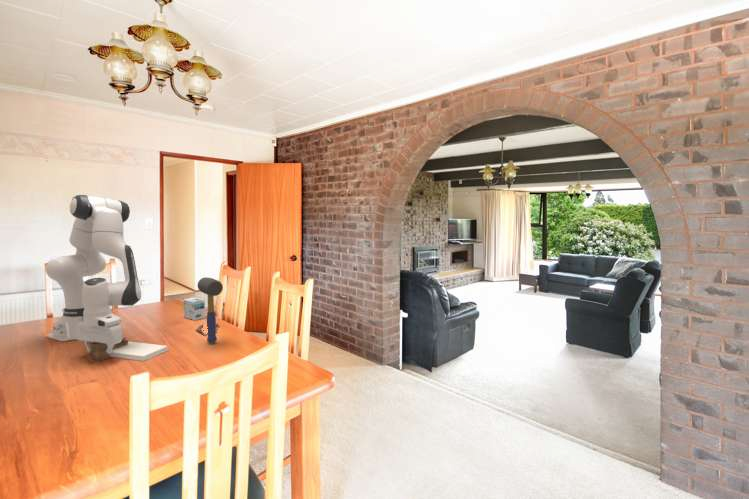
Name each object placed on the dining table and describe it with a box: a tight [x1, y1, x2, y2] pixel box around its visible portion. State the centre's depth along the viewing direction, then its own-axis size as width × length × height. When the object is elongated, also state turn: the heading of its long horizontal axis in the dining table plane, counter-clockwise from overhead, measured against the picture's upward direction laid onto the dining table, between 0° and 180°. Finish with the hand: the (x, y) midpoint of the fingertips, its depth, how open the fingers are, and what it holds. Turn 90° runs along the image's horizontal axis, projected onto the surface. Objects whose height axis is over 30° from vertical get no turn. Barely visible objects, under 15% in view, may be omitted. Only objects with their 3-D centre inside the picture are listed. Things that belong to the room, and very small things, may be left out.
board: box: [109, 340, 169, 362], centre depth 158 cm, size 22×12×2 cm, turn 75°
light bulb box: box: [183, 297, 207, 321], centre depth 210 cm, size 11×7×11 cm, turn 58°
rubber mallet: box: [197, 276, 224, 345], centre depth 168 cm, size 12×8×30 cm, turn 46°
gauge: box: [89, 337, 129, 362], centre depth 155 cm, size 4×14×7 cm, turn 165°
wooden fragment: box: [195, 322, 220, 337], centre depth 192 cm, size 26×11×1 cm, turn 21°
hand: (100, 352), depth 151 cm, fingers open, 8 cm apart
